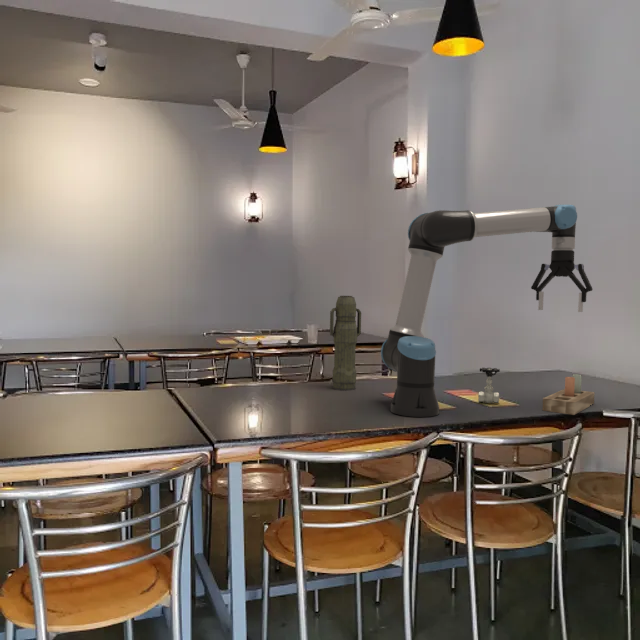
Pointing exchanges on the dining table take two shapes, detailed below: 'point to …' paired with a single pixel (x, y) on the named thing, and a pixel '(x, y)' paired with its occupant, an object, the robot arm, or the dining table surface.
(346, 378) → the thermos
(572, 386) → the terracotta peg
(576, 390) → the sage peg
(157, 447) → the dining table surface
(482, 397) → the valve
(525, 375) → the dining table surface
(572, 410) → the beech block
